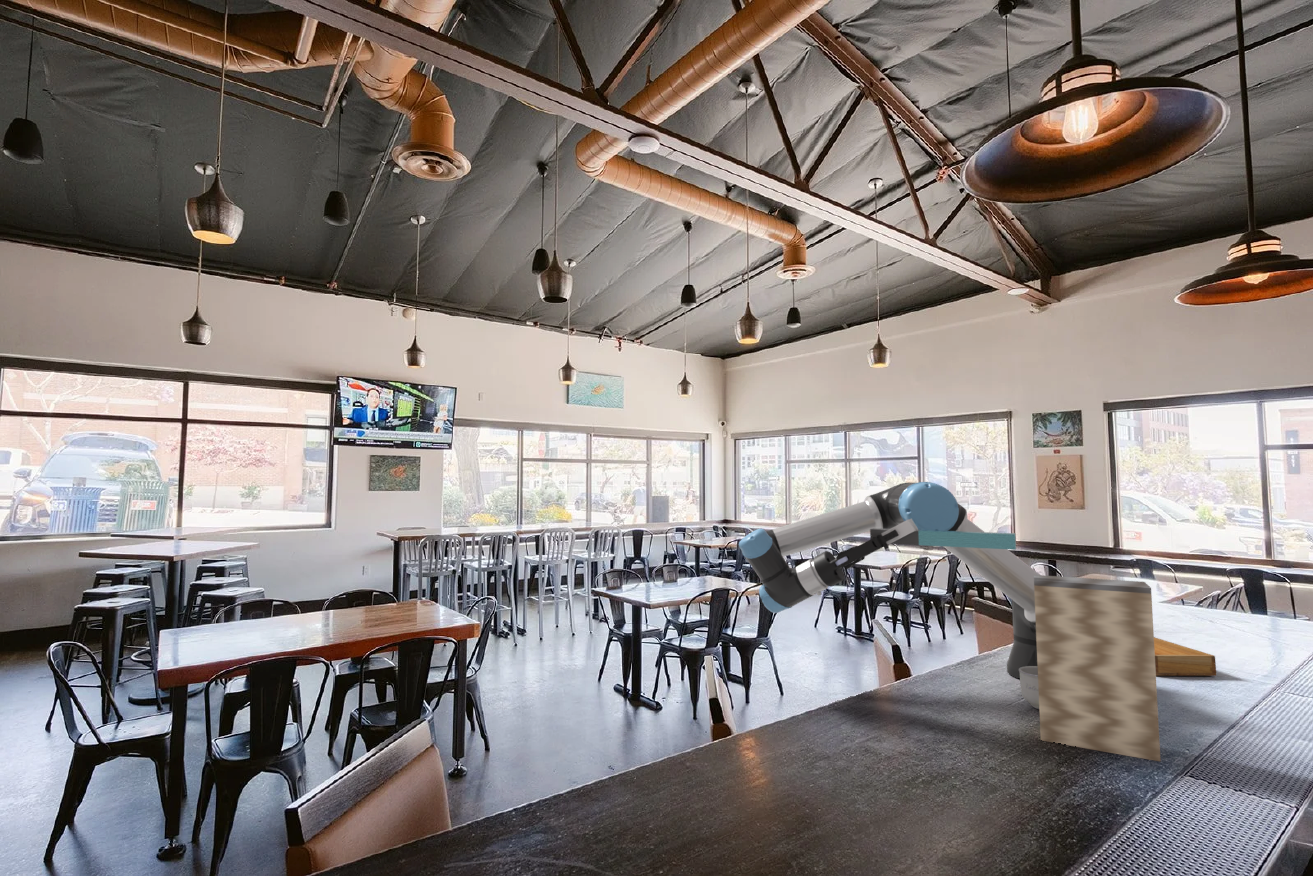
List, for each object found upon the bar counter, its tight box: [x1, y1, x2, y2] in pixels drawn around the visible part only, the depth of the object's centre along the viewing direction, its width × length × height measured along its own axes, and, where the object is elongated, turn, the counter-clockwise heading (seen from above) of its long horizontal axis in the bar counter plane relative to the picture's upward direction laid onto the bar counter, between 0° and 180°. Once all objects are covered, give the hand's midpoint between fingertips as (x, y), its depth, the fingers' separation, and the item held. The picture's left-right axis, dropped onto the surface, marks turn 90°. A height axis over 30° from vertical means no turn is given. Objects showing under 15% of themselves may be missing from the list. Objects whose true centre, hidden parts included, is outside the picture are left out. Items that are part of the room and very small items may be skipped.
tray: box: [1154, 636, 1217, 677], centre depth 175 cm, size 31×15×6 cm, turn 178°
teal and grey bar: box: [869, 528, 1017, 551], centre depth 135 cm, size 28×3×3 cm, turn 59°
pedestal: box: [1034, 574, 1162, 762], centre depth 121 cm, size 18×8×30 cm, turn 59°
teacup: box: [1019, 666, 1039, 710], centre depth 138 cm, size 14×11×8 cm
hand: (913, 524), depth 138 cm, fingers closed on teal and grey bar, 3 cm apart
